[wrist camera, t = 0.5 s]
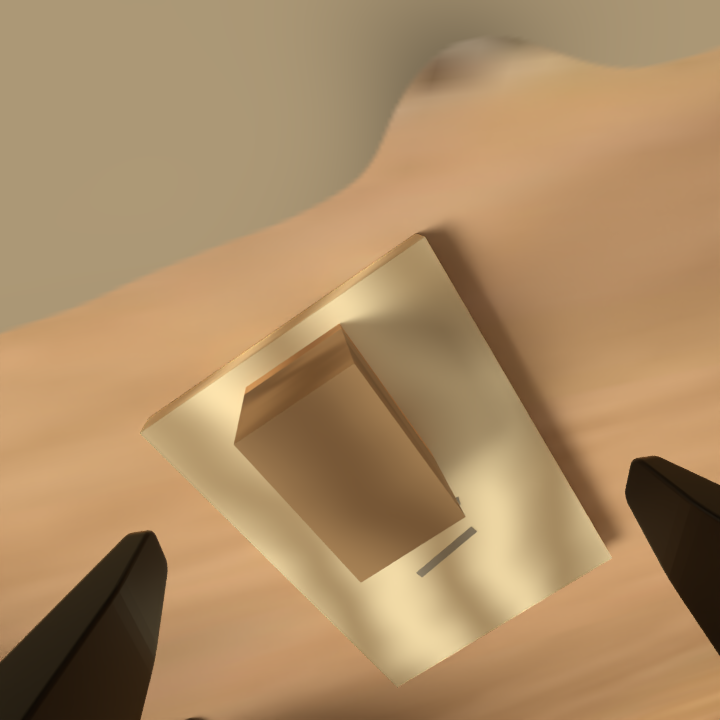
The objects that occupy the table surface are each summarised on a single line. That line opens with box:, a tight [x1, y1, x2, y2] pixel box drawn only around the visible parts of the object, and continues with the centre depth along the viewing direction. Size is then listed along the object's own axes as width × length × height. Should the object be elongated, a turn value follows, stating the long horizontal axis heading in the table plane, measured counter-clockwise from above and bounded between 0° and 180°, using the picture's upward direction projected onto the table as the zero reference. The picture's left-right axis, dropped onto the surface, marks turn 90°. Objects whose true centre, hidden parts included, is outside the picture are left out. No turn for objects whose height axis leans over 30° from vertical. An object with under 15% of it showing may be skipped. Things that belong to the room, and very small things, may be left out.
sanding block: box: [234, 324, 466, 582], centre depth 20 cm, size 5×8×5 cm, turn 34°
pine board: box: [140, 234, 612, 688], centre depth 25 cm, size 15×22×2 cm
